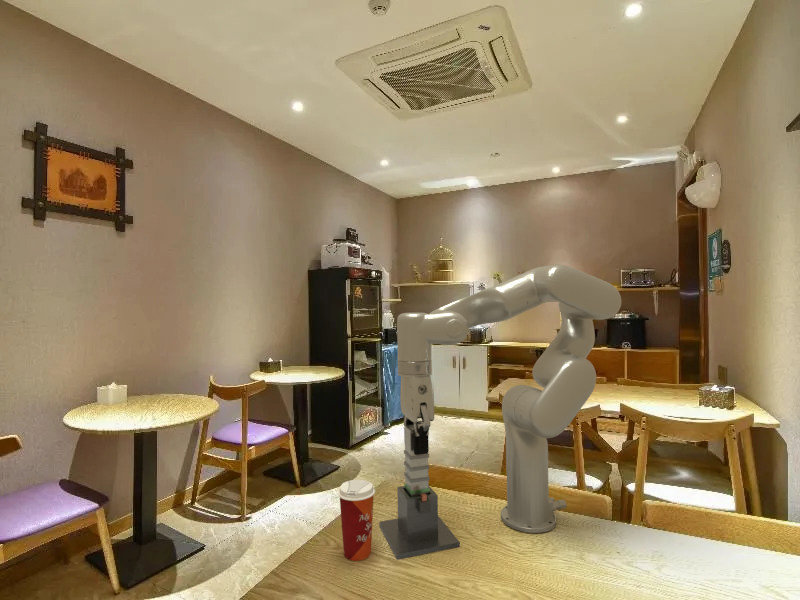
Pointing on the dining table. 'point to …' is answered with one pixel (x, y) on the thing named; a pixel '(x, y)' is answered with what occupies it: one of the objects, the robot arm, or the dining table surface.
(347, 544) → the paper cup
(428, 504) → the stand base
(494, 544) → the dining table surface
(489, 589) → the dining table surface
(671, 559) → the dining table surface
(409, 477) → the column
